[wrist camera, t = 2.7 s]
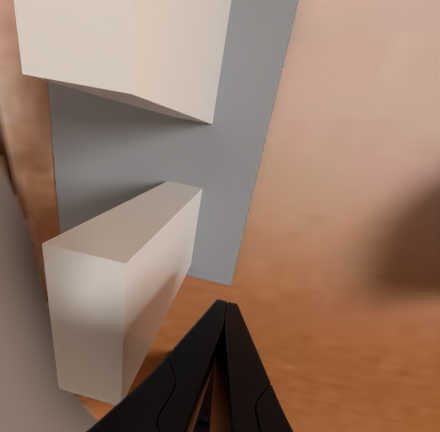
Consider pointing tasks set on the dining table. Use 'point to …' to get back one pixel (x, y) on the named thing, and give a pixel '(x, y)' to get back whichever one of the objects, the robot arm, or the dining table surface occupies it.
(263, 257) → the dining table surface
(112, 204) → the mat
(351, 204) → the dining table surface
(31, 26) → the tile
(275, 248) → the dining table surface
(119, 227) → the tile
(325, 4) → the dining table surface
